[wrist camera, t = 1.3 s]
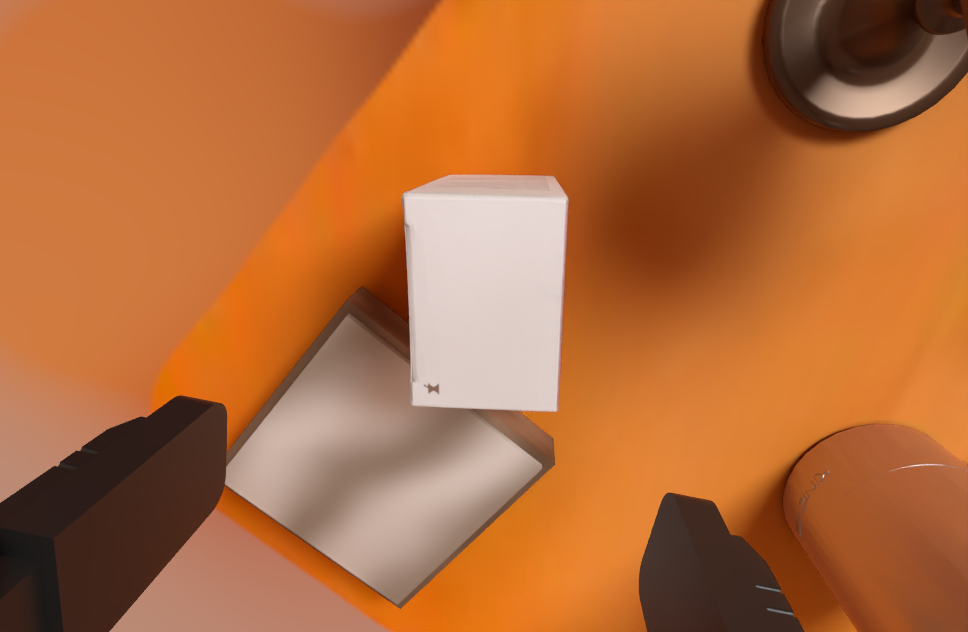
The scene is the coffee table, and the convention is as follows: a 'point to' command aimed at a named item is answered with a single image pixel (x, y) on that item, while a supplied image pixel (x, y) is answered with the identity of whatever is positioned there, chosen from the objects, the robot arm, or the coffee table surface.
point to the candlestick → (864, 58)
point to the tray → (380, 457)
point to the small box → (486, 291)
